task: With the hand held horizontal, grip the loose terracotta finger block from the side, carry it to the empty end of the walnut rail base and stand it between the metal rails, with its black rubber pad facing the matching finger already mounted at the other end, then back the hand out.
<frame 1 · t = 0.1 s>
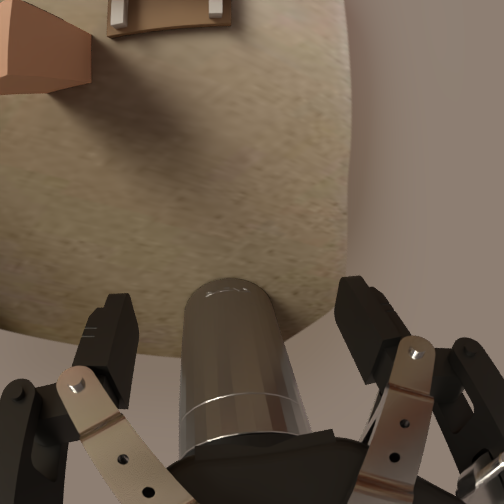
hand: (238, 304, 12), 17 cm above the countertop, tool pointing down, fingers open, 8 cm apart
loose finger: (67, 63, 20), on the countertop
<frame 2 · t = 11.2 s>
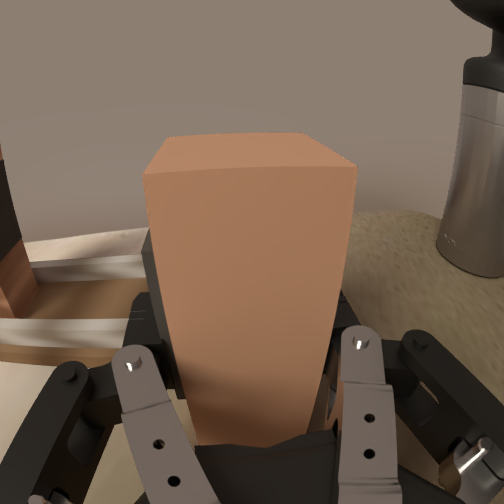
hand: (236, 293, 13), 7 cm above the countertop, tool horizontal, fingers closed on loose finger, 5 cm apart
rail base: (84, 316, 21), on the countertop
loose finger: (247, 420, 15), on the countertop, touching gripper
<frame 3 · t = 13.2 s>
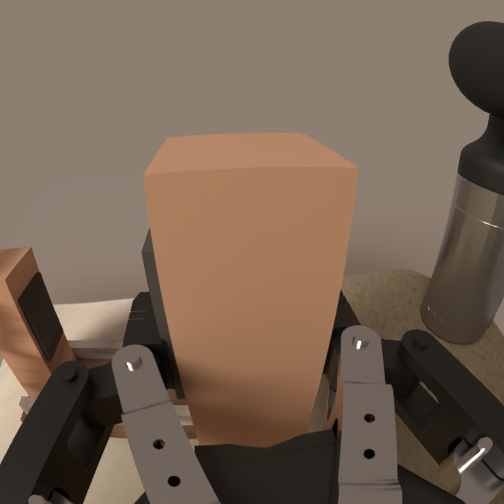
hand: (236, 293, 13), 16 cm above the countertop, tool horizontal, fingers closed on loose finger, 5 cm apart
rail base: (123, 391, 26), on the countertop
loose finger: (247, 420, 15), point 9 cm above the countertop, touching gripper
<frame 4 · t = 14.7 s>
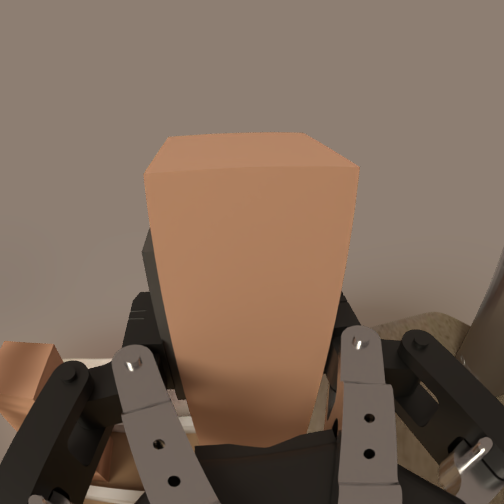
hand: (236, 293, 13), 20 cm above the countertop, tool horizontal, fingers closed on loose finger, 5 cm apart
rail base: (164, 468, 23), on the countertop
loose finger: (247, 420, 15), point 13 cm above the countertop, touching gripper
when the fingers open (9 cm above the countertop, at t = 18.1 s): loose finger drops 1 cm, resting on rail base.
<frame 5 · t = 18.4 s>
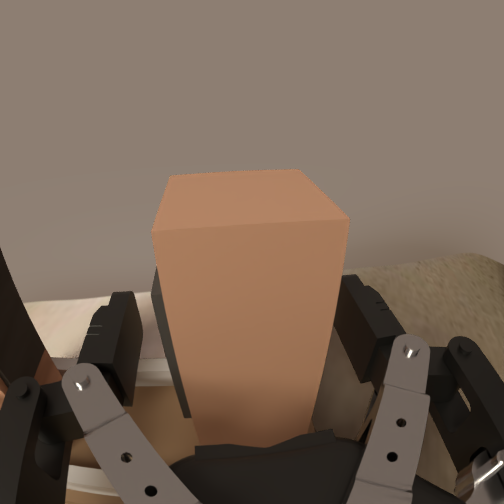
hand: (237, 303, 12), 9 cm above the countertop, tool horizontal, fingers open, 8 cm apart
rail base: (146, 438, 16), on the countertop
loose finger: (248, 433, 15), point 1 cm above the countertop, touching rail base
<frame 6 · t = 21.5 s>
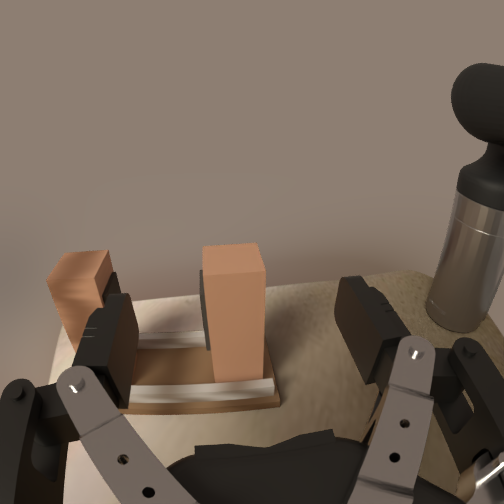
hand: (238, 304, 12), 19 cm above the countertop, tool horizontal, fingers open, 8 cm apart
rail base: (180, 375, 31), on the countertop
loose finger: (236, 369, 31), point 1 cm above the countertop, touching rail base
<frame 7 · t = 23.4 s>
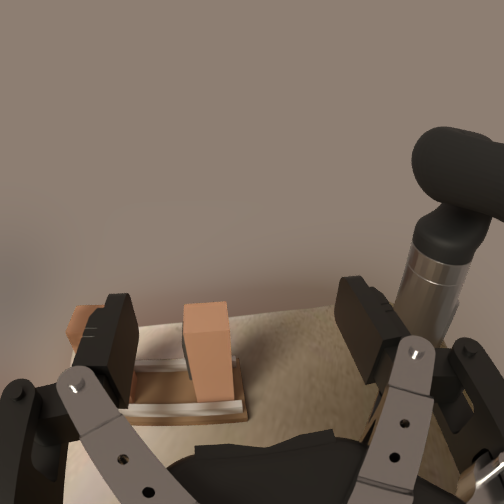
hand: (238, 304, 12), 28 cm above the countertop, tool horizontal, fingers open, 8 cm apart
rail base: (171, 394, 39), on the countertop
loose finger: (215, 391, 39), point 1 cm above the countertop, touching rail base
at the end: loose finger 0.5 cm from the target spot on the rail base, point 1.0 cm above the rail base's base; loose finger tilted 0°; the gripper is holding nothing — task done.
